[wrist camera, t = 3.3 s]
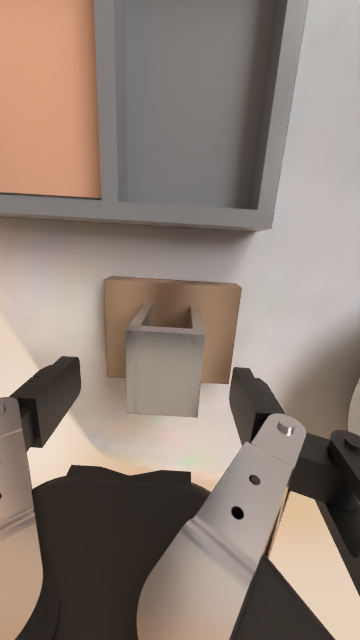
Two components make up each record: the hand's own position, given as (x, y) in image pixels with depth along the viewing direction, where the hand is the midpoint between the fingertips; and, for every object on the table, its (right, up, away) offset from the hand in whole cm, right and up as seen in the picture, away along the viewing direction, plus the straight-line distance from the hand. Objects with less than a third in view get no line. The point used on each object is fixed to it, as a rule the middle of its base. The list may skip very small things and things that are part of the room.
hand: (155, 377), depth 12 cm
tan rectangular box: (+1, +2, +8) cm, 8 cm away
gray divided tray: (-3, +18, +3) cm, 18 cm away
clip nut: (0, +2, +6) cm, 6 cm away
